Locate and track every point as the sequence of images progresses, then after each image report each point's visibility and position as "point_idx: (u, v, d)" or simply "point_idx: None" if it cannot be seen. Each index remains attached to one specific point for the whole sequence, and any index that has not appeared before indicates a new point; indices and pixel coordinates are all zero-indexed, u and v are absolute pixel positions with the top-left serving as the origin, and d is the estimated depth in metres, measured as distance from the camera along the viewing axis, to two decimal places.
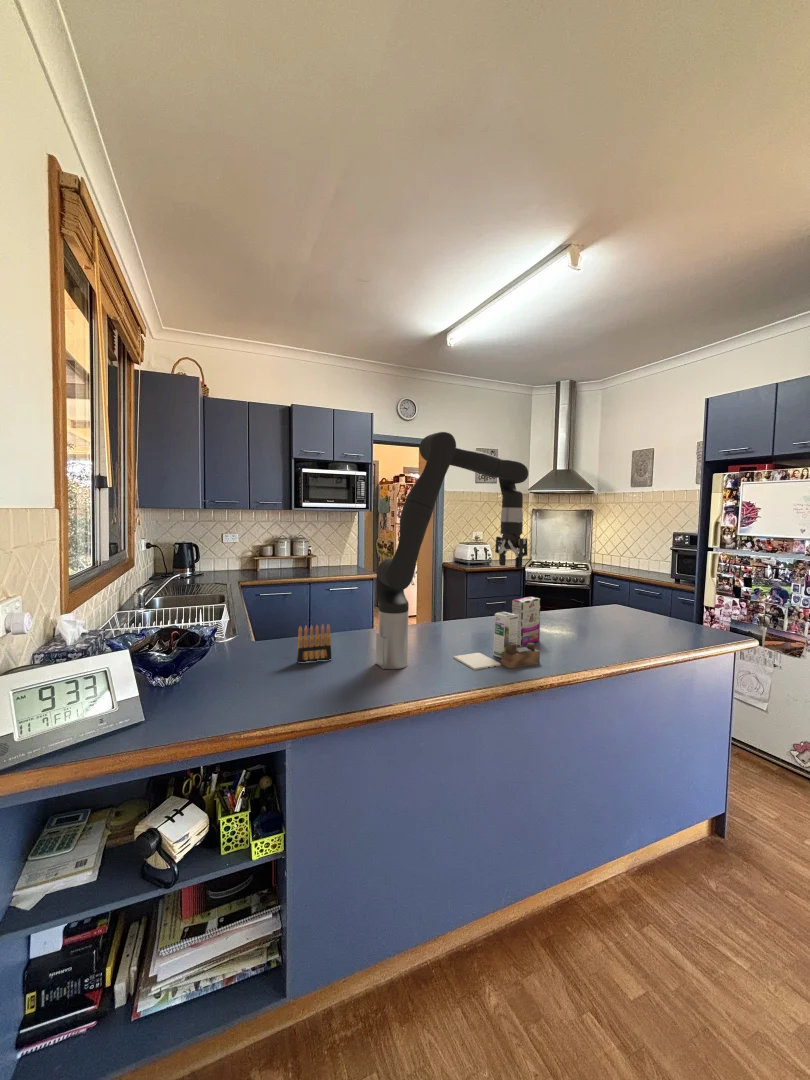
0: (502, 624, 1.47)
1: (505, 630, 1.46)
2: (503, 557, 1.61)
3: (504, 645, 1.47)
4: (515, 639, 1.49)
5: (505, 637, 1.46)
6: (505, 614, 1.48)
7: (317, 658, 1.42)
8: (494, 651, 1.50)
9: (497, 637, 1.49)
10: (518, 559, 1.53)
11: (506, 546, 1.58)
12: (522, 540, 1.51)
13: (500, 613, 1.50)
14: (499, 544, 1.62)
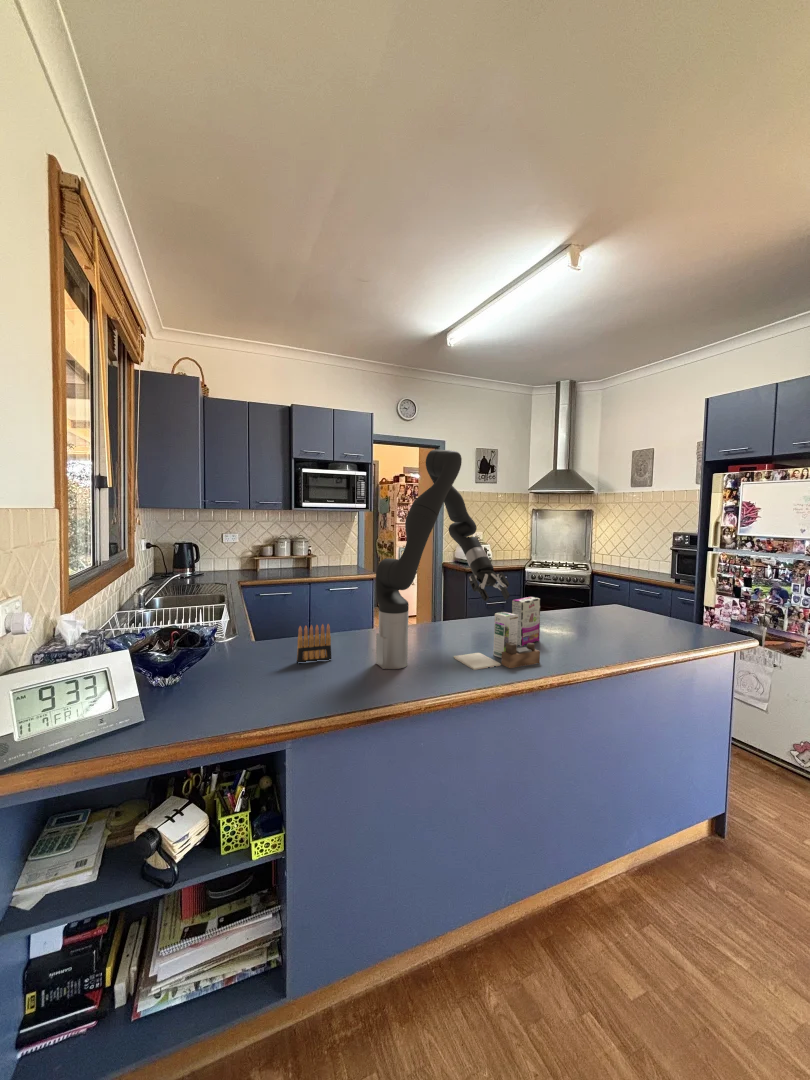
0: (502, 624, 1.47)
1: (505, 630, 1.46)
2: None
3: (504, 645, 1.47)
4: (515, 639, 1.49)
5: (505, 637, 1.46)
6: (505, 614, 1.48)
7: (317, 658, 1.42)
8: (494, 651, 1.50)
9: (497, 637, 1.49)
10: (506, 589, 1.57)
11: (488, 580, 1.57)
12: None
13: (500, 613, 1.50)
14: None
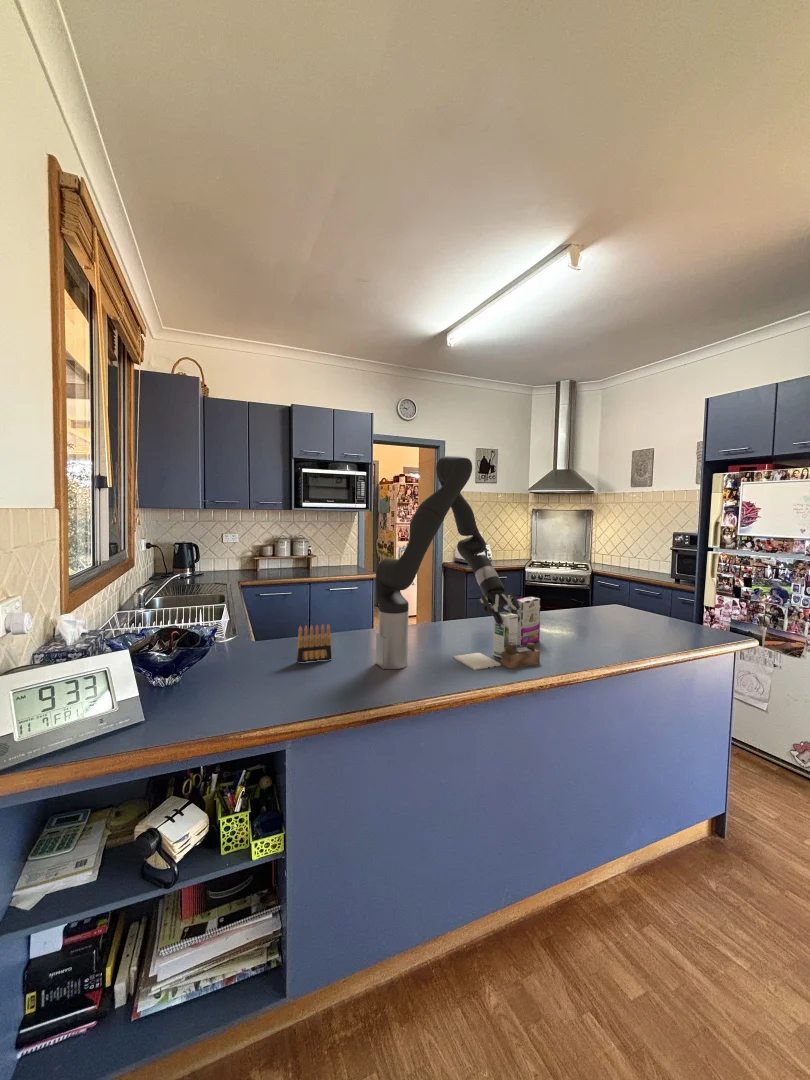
0: (502, 624, 1.47)
1: (505, 630, 1.46)
2: None
3: (504, 645, 1.47)
4: (515, 639, 1.49)
5: (505, 637, 1.46)
6: (505, 614, 1.48)
7: (317, 658, 1.42)
8: (494, 651, 1.50)
9: (497, 637, 1.49)
10: (516, 612, 1.51)
11: (499, 601, 1.52)
12: None
13: (500, 613, 1.50)
14: None
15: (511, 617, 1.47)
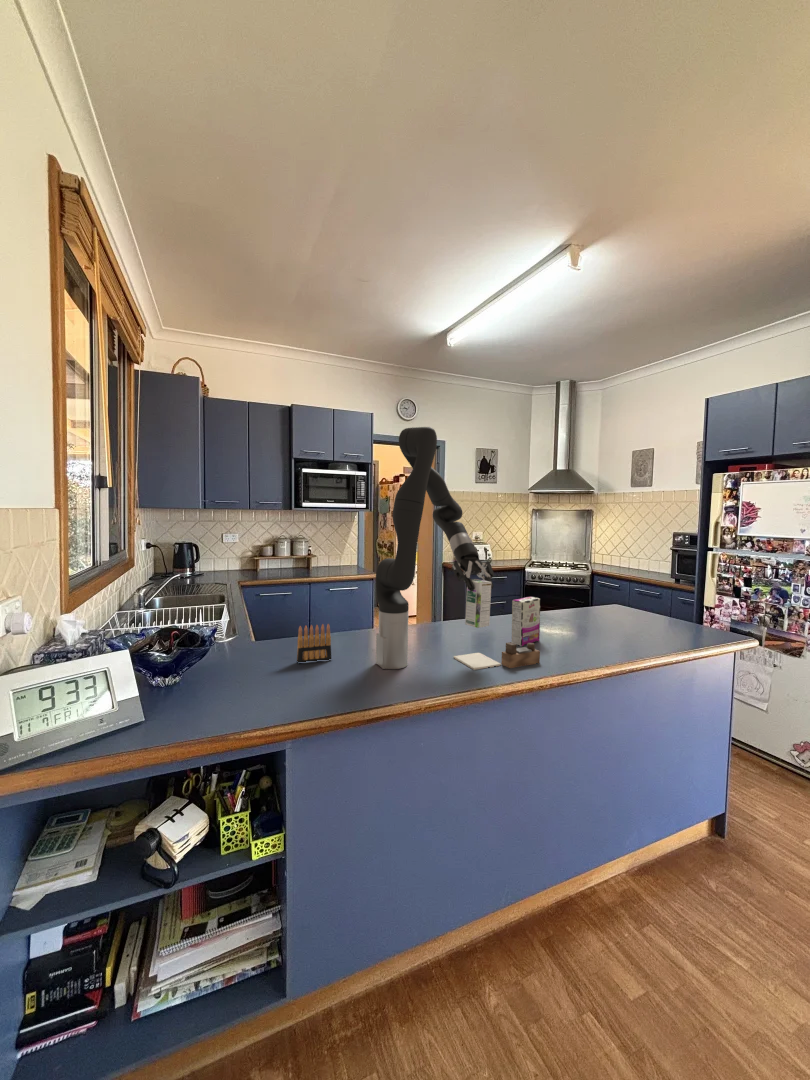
0: (474, 591, 1.40)
1: (477, 597, 1.40)
2: None
3: (476, 613, 1.40)
4: (488, 607, 1.42)
5: (477, 604, 1.39)
6: (477, 581, 1.42)
7: (317, 658, 1.42)
8: (466, 620, 1.43)
9: (469, 604, 1.42)
10: (490, 579, 1.44)
11: (472, 568, 1.45)
12: None
13: (473, 580, 1.43)
14: None
15: (484, 583, 1.40)
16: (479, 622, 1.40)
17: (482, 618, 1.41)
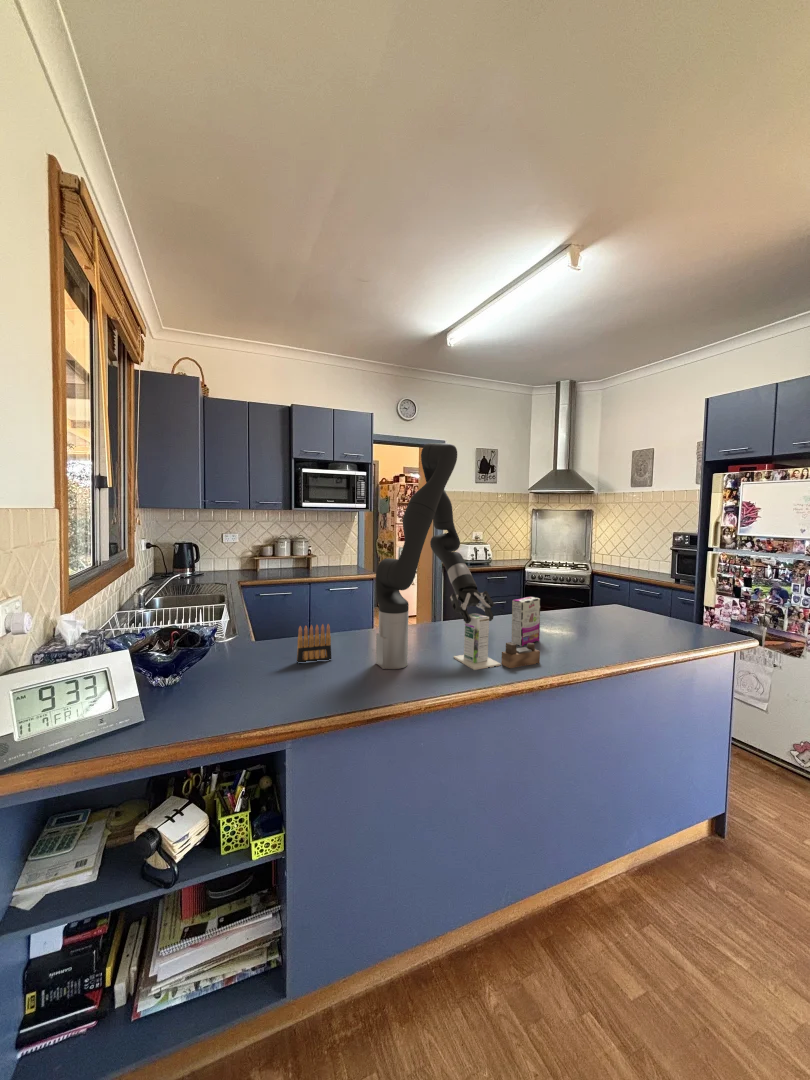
0: (472, 626, 1.41)
1: (474, 632, 1.40)
2: None
3: (474, 648, 1.41)
4: (486, 642, 1.43)
5: (475, 640, 1.40)
6: (475, 616, 1.43)
7: (317, 658, 1.42)
8: (464, 654, 1.44)
9: (468, 640, 1.43)
10: (490, 610, 1.46)
11: (470, 600, 1.45)
12: None
13: (470, 615, 1.44)
14: None
15: (481, 619, 1.41)
16: (478, 658, 1.41)
17: (480, 653, 1.42)
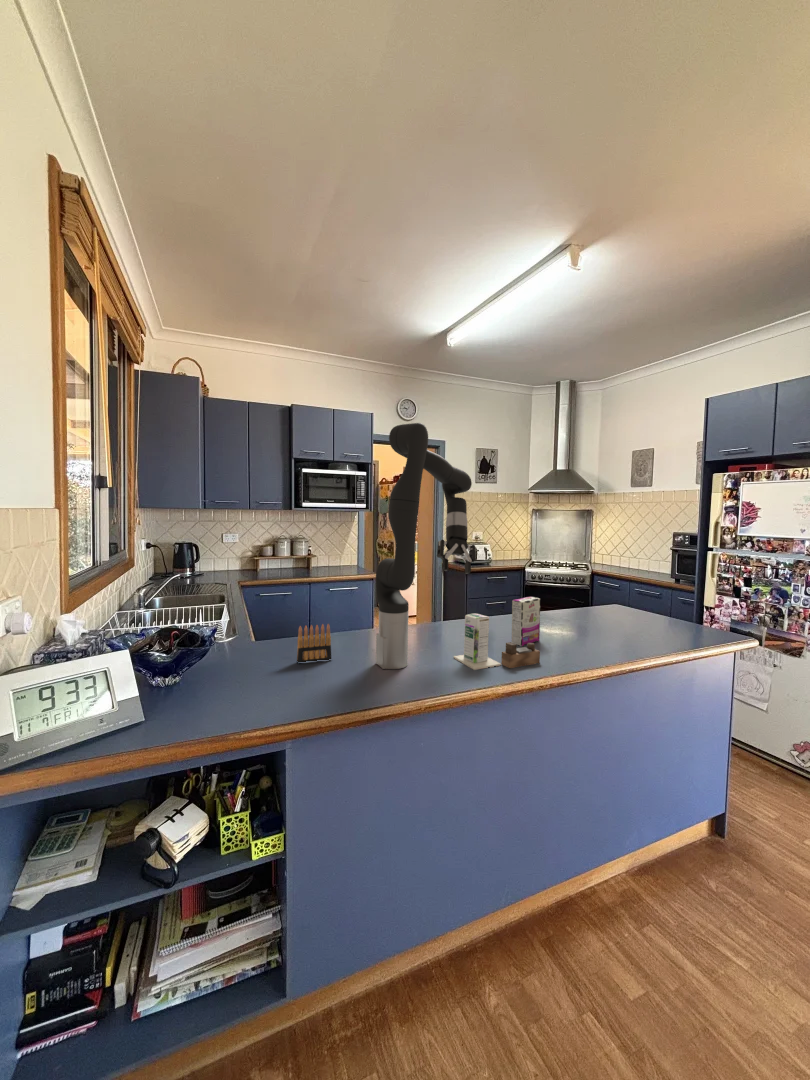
0: (472, 626, 1.41)
1: (474, 632, 1.40)
2: None
3: (474, 648, 1.41)
4: (486, 642, 1.43)
5: (475, 640, 1.40)
6: (475, 616, 1.43)
7: (317, 658, 1.42)
8: (464, 654, 1.44)
9: (468, 640, 1.43)
10: (470, 564, 1.56)
11: (455, 550, 1.54)
12: None
13: (470, 615, 1.44)
14: None
15: (481, 619, 1.41)
16: (478, 658, 1.41)
17: (480, 653, 1.42)
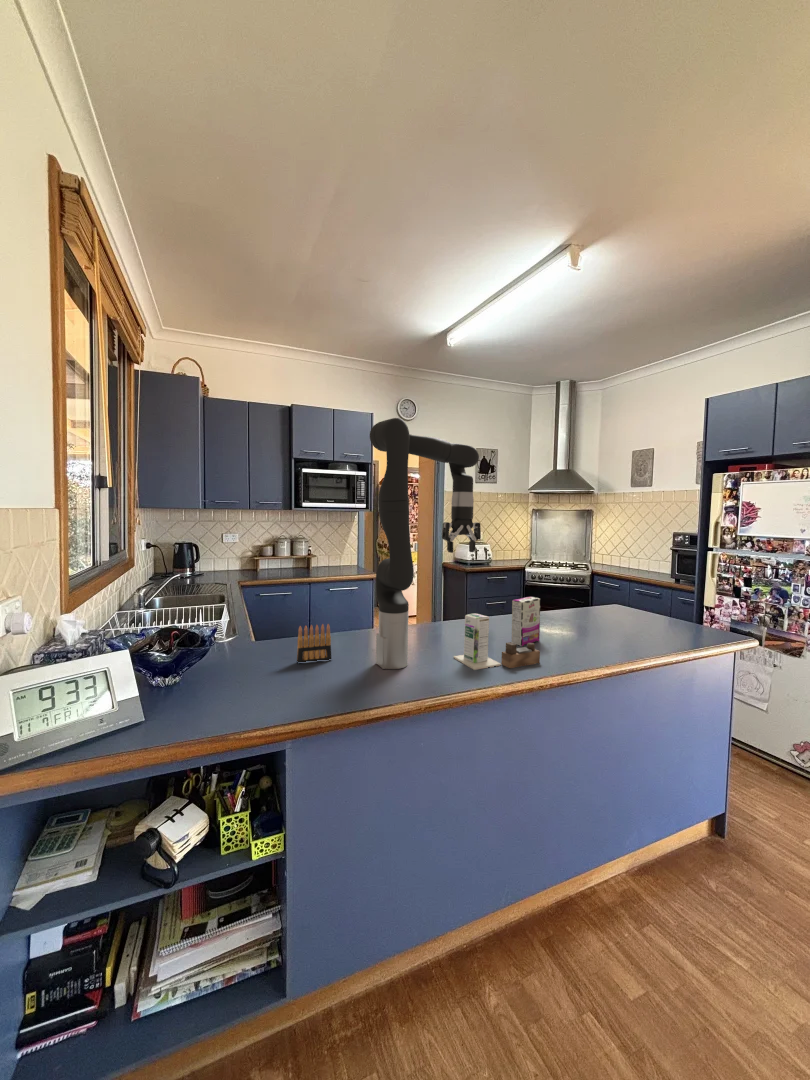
0: (472, 626, 1.41)
1: (474, 632, 1.40)
2: None
3: (474, 648, 1.41)
4: (486, 642, 1.43)
5: (475, 640, 1.40)
6: (475, 616, 1.43)
7: (317, 658, 1.42)
8: (464, 654, 1.44)
9: (468, 640, 1.43)
10: (474, 543, 1.57)
11: (460, 531, 1.54)
12: None
13: (470, 615, 1.44)
14: None
15: (481, 619, 1.41)
16: (478, 658, 1.41)
17: (480, 653, 1.42)
